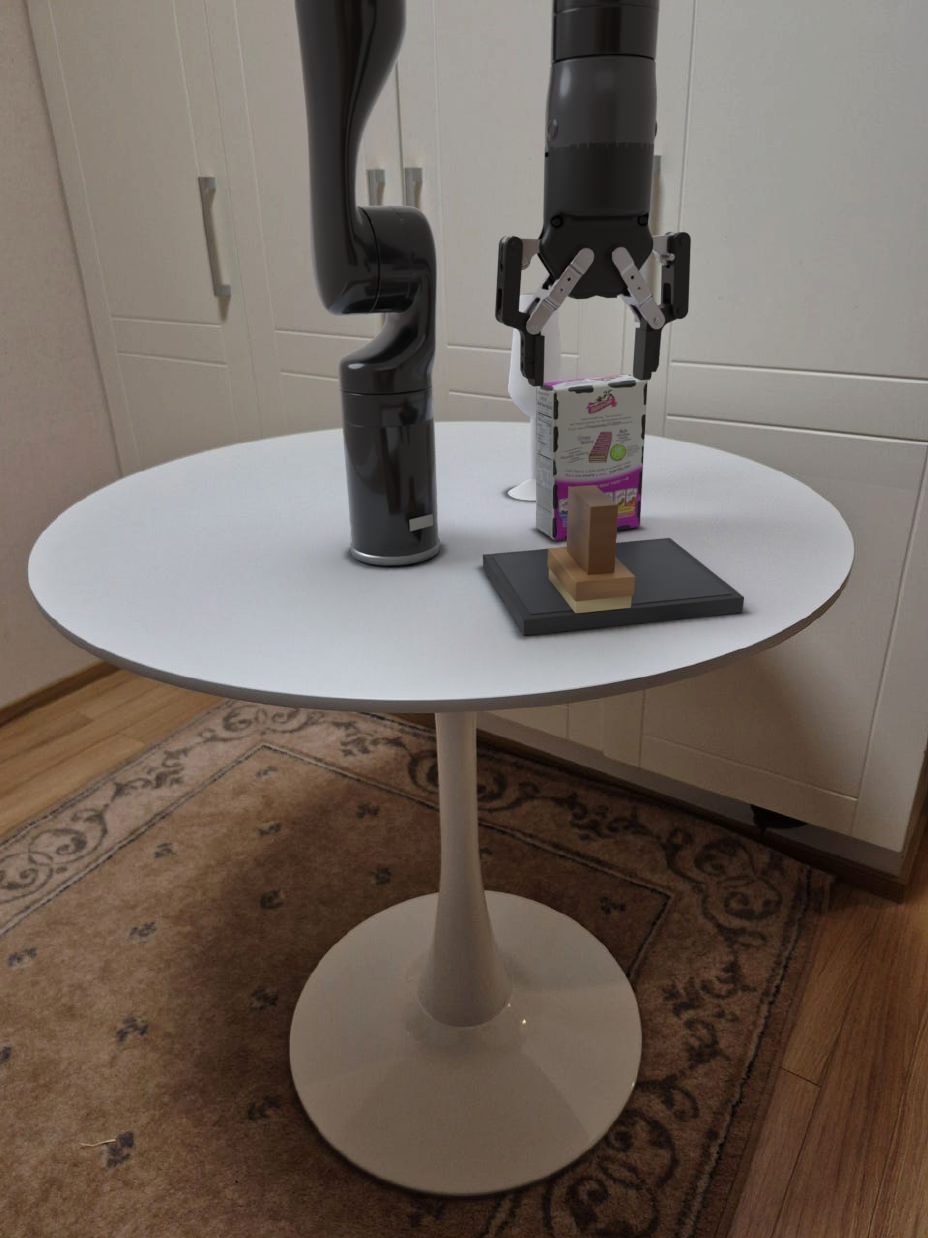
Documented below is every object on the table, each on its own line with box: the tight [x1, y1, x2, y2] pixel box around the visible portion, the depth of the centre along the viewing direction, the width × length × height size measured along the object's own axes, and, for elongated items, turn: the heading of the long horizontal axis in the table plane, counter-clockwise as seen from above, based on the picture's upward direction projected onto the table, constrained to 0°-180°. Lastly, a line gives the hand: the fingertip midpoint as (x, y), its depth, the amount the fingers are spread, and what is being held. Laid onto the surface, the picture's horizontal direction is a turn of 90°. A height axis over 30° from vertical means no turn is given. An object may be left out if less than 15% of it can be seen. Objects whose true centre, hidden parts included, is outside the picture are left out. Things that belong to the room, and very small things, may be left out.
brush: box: [547, 485, 635, 613], centre depth 75 cm, size 8×5×9 cm, turn 11°
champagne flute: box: [507, 291, 564, 502], centre depth 105 cm, size 7×7×24 cm
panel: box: [482, 537, 745, 637], centre depth 81 cm, size 16×20×2 cm
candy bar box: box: [535, 374, 649, 542], centre depth 94 cm, size 11×5×16 cm, turn 112°
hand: (588, 381), depth 66 cm, fingers open, 8 cm apart
